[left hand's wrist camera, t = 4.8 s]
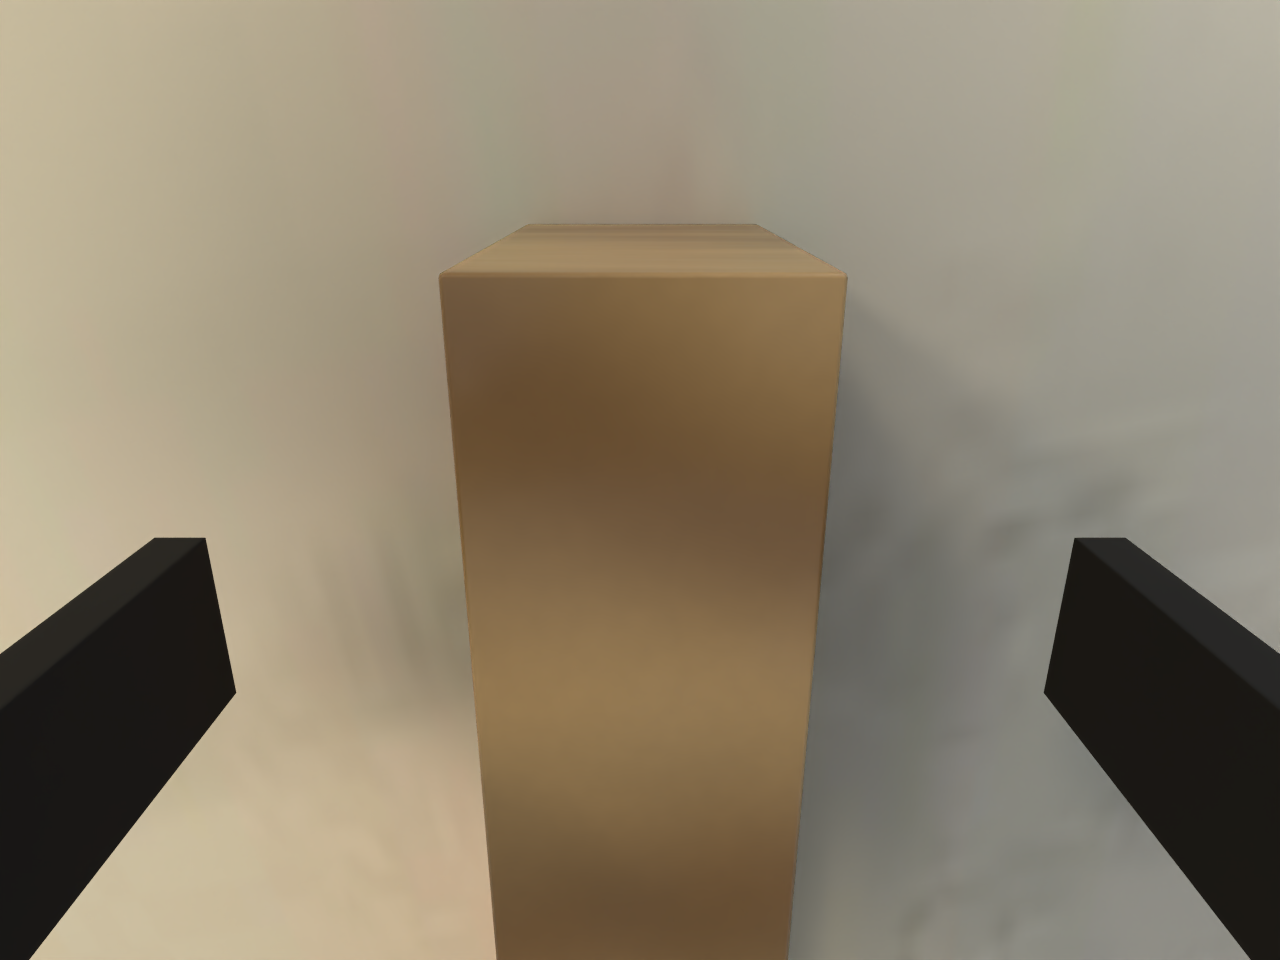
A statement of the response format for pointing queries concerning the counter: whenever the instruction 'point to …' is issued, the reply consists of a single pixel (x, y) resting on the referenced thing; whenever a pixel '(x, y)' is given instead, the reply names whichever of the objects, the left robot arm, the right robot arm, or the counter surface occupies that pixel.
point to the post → (642, 576)
